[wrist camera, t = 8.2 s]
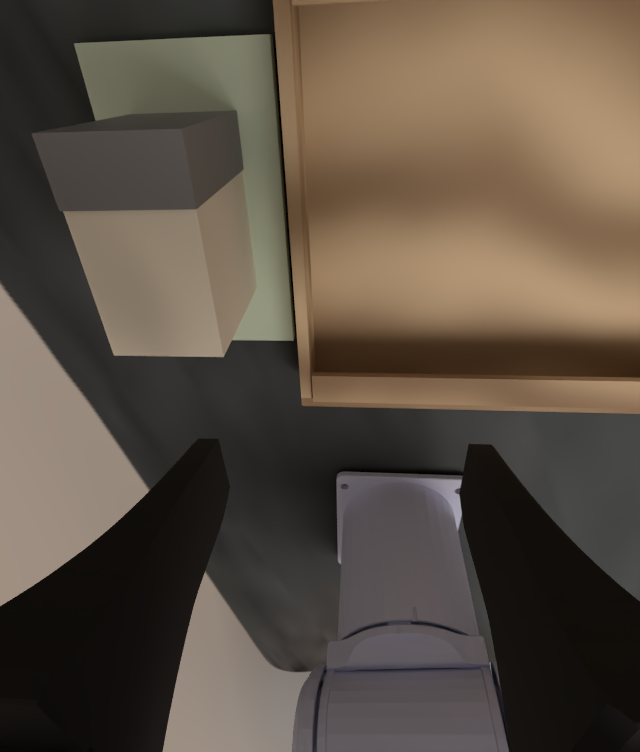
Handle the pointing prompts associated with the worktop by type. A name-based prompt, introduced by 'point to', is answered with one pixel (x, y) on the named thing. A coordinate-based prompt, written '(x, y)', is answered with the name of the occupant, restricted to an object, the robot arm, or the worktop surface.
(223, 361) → the worktop surface
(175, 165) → the box
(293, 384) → the worktop surface
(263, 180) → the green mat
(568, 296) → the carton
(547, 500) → the worktop surface
